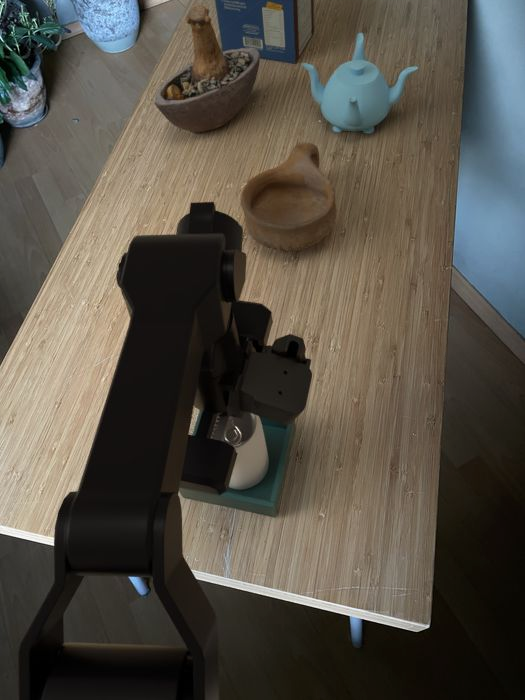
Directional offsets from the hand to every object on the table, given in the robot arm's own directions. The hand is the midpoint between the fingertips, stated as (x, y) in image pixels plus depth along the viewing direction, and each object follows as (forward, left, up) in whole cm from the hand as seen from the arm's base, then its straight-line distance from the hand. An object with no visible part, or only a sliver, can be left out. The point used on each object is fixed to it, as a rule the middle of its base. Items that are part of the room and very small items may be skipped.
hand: (230, 425), depth 62 cm
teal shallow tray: (0, 0, -10) cm, 10 cm away
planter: (+60, +20, -11) cm, 64 cm away
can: (-1, 0, -10) cm, 10 cm away
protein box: (+83, +16, -11) cm, 85 cm away
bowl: (+39, +2, -11) cm, 40 cm away
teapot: (+63, -4, -11) cm, 64 cm away
